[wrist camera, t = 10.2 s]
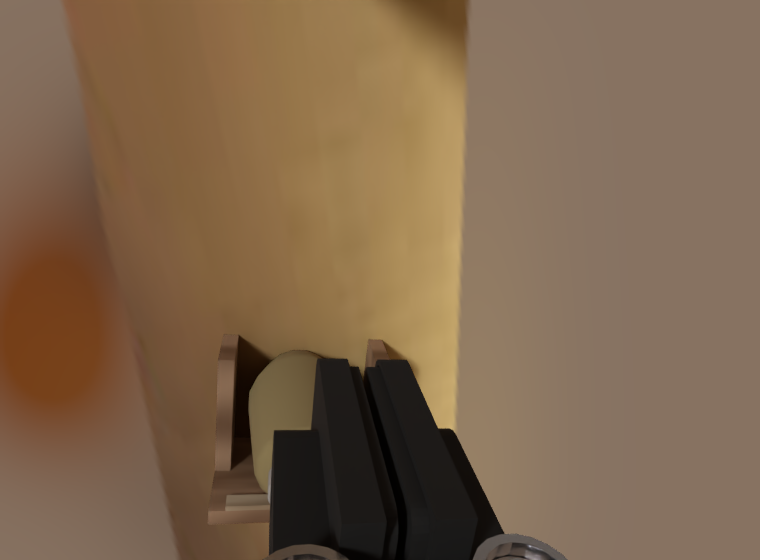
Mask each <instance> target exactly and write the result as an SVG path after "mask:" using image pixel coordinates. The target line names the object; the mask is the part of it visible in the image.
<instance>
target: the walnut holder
mask: <svg viewBox="0 0 760 560" xmlns="http://www.w3.org/2000/svg"><path fill="white" fill-rule="evenodd" d="M238 339H239V335H224V336H223V340H222V345H221V349H220V354H219V358H218V380H217V416H216V452H215V474H214V480H213V486H212V492H211V498H210V504H209V510H208V525H211V524H239V523H268V522H270V503H269V501H268V494H267V493H266V492H264V491H263V490H262V489H261V488H260V486H259V483H258V481H257V479H256V477H255V475H254V465H253V454H252V443H251V437H235V413H236V388H237V363H238ZM378 359H384V360H390V359H389V356H388V354H387V351H386V349H385V346H384V344H383V342H382V340H368V347H367V355H366V363H365V369H366V367H375V364H376V361H377V360H378ZM364 374H365V371H364ZM363 382H364V379H363Z"/></svg>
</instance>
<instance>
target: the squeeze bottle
mask: <svg viewBox="0 0 760 560" xmlns="http://www.w3.org/2000/svg"><path fill="white" fill-rule="evenodd" d="M318 358H321V357H320V356H319V355H316V354H314V353H312V352H309V351H306V350H292V351H289V352H286V353H283V354H280V355H279V356H278V357H276V358H275V359H274V360H273V361H271V362H270V363H269V364H268V365H267V367H266V368H265V369H264V370H263V371H262V372H261V373H260V374H259V375H258V377H257V379H256V381H255V382H254V384H253V386H252V388H251V390H250V392H249V407H248V411H249V422H250V433H251V443H252V454H253V465H254V475H255V477H256V479H257V481H258V483H259V486H260V488H261V489H262V490H263V491H264V492H266V493H267V494H268V501H269V503H270V492H271V470H272V451H273V435H274V430H311V422H312V410H313V397H314V385H315V373H316V364H317V359H318Z"/></svg>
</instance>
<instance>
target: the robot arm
mask: <svg viewBox="0 0 760 560" xmlns="http://www.w3.org/2000/svg"><path fill="white" fill-rule="evenodd" d="M263 560H567V559H566V558H565V556H564V555H562V554H561V553H560V552H558V551H557V550H555V549H554V548H553V547H551V546H550V545H548V544H546V543H544V542H542V541H539V540H537V539H535V538H532V537H529V536H523V535H519V534H504V532H503V530H502V528H501V526H500V524H499V522H498V520H497V517H496V515H495V513H494V511H493V509H492V507H491V505H490V503H489V501H488V499H487V497H486V495H485V493H484V491H483V489H482V487H481V485H480V483H479V481H478V479H477V477H476V475H475V473H474V471H473V469H472V467H471V465H470V462H469V460H468V458H467V456H466V454H465V453H464V450H463V448H462V446H461V444H460V442H459V440H458V438H457V436H456V434H455V433H454V431H453V430H451V429H438V427H437V425H436V423H435V421H434V418H433V416H432V414H431V412H430V410H429V407H428V405H427V403H426V401H425V398H424V396H423V394H422V392H421V389H420V387H419V385H418V383H417V381H416V378H415V376H414V374H413V372H412V369H411V367H410V365H409V363H408V361H407V360H384V359H378V360H377V361H376V364H375V367H366V369H365V374H364V382H363V381H362V377H361V374H360V370H359V367H349V363H348V360H347V359H326V358H318V359H317V364H316V373H315V385H314V397H313V410H312V422H311V430H274V435H273V451H272V470H271V492H270V525H269V556H268V557H266V558H265V559H263Z"/></svg>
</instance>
